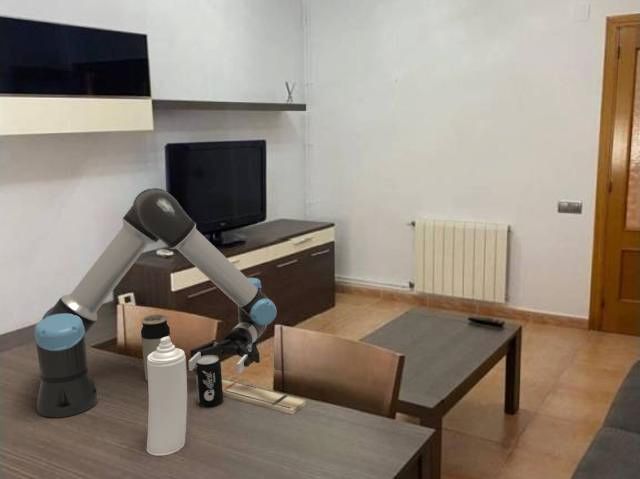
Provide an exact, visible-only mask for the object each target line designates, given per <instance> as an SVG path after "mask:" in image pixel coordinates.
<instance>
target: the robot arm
mask: <svg viewBox="0 0 640 479" xmlns="http://www.w3.org/2000/svg"><path fill="white" fill-rule="evenodd" d="M122 224H123V225H122V228H121V229H120V230H119V231H118V232H117V234H116V235H115V237H114V238H113V239H112V240H111V242H110V243H109V244H108V245H107V246H106V248H105V250H104V251H103V252H102V253H101V255H100V256H99V257H98V258H97V259H96V260H95V262H94V263H93V265H92V266H91V267H90V269H89V270H88V271H87V272H86V274H85V275H84V276H83V277H82V278H81V280H80V281H79V283H78V284H77V285H76V286H75V288H74V289H73V290H72V291H71V293H69V294H63V295H61V297H59V299H58V300H57V302H56V303H55V304H54V306H52V307H51V308H49V309H48V310H47V311H46V312H45V313H44V314H43V316H42V318H41V320H39V321H38V322H37V323H36V324H35V327H34V340H35V344H36V351H37V360H38V368H39V374H40V385H39V390H38V395H37V399H36V408H37V413H38V414H39V415H40V416H43V417H46V418H64V417H71V416H74V415H78V414H81V413H83V412H86V411H88V410H90V409H92V408H93V407H94V406H95V405H97V403H98V401H99V392H98V389H97V387H96V385H95V383H94V380H93V378H92V377H91V375H90V372H89V365H88V364H89V363H88V357H87V347H86V346H87V345H86V335H87V333H88V332H89V331H90V330H91V328H92V327H93V325H94V324H95V322H97V320H98V315H97V312H98V310H99V309H100V308H101V306H102V305H103V304H104V302H105V301H106V300H107V299H108V297H109V296H110V295H111V293H112V292H113V291H114V290H115V288H116V287H117V286H118V284H119V283H120V282H121V280H122V279H123V278H124V277H125V275H126V274H127V273H128V272H129V270H130V269H131V268H132V266H133V265H134V263H136V261H137V260H138V259H139V257H140V256H141V254H142V253H143V252H144V250H146V248H147V247H148V246H149V245H151V244H157V243H158V241H161V242H163V243H164V244H165V245H166V246H167V247H168V248H169V249H170V250H175V249H176V250H177V251H178V252H179V253H180V254H182V255H183V257H184V258H186V259H187V260H188V262H190V263H191V264H192V265H193V266H195V268H196V269H198V270H199V271H200V272H201V273H202V274H203V275H204V276H205V277H206V278H207V279H209V280H210V281H211V282H212V283H213V284H214V285H215V286H216V287H217V288H218V289H219V290H220V291H221V292H222V293H223V294H225V295H226V296H227V297H228V298H229V299H230V300H231V301H233V303H234V304H236V305H237V311H238V312H237V314H238V315H237V316H238V323H237V325H235V326H234V327H233V328H232V330H230V331H229V332H228V334H226V336H225V338H224V340H222V341H220V342H217V340H216V339H212V340H211V341H209V342H208V343H204V344H202V345H199V346H197V347H195V348H192V349H190V350H189V354H190V358H189V360H187V361H188V362H187V363H188V372H190V371H191V372H192V371H194V369H195V365H196V363H197V362H196V360H197V359H198V358H199V357H202V356H206V355H214V356H220V357H221V356H224V355H230V354H231V355H234V356H239V358H240V359H239V361H238V362H236V373H237V375H240V374H241V373H242V372H243V371H244V370H245V369H246V367H249V366H250V365H251V364H253V363H255V364H259V363H261V362H260V361H261V358H260V352H259V349H258V342H257V340H258V339H259V338H260V337H261V336H262V335H263V334H264V333H265V331H266V329H267V326H268V325H270V324H271V323H272V322H273V321H274V320H275V319H276V317H277V313H278V311H277V306H276V305H275V303H274V301H272V300H271V299H269V297H267V295H266V294H265V293H264V292H262V288H263V286H262V284H261V280H260V279H259V278H257V277H256V278H255V277H247V276H245V274H244V273H243V272H242V271H241V270H240V269H238V267H237V266H236V265H234V264H233V263H232V262H231V261H230V260H229V259H228V258H227V257H226V256H225V255H224V254H223V253H222V252H221V251H220V250H219V248H217V247H215V245H213V244H212V243H211V242H210V240H208V239H207V238H206V237H205V236H204V235H203V234H202V233H201V232H200V231H199V230H198V229H197V223H196V222H195V221H194V220H193V219H192V218H191V217H190V216H189V215H188V214H187V213H186V211H185V210H184V209H183V207H182V206H181V205H180V203H179V201H178V200H177V199H176V198H175V197H174V196H173V195H171V194H170V193H169V192H168V191H166V190H165V189H163V188H159V187H151V188H147V189H144V190H142V191H140V192H139V193H138V194H137V195H136V197H135V198H134V200H133V203H132V206H131V207H130V208H129V209H128V211H126V213H125V215H124V216H123V217H122Z"/></svg>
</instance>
